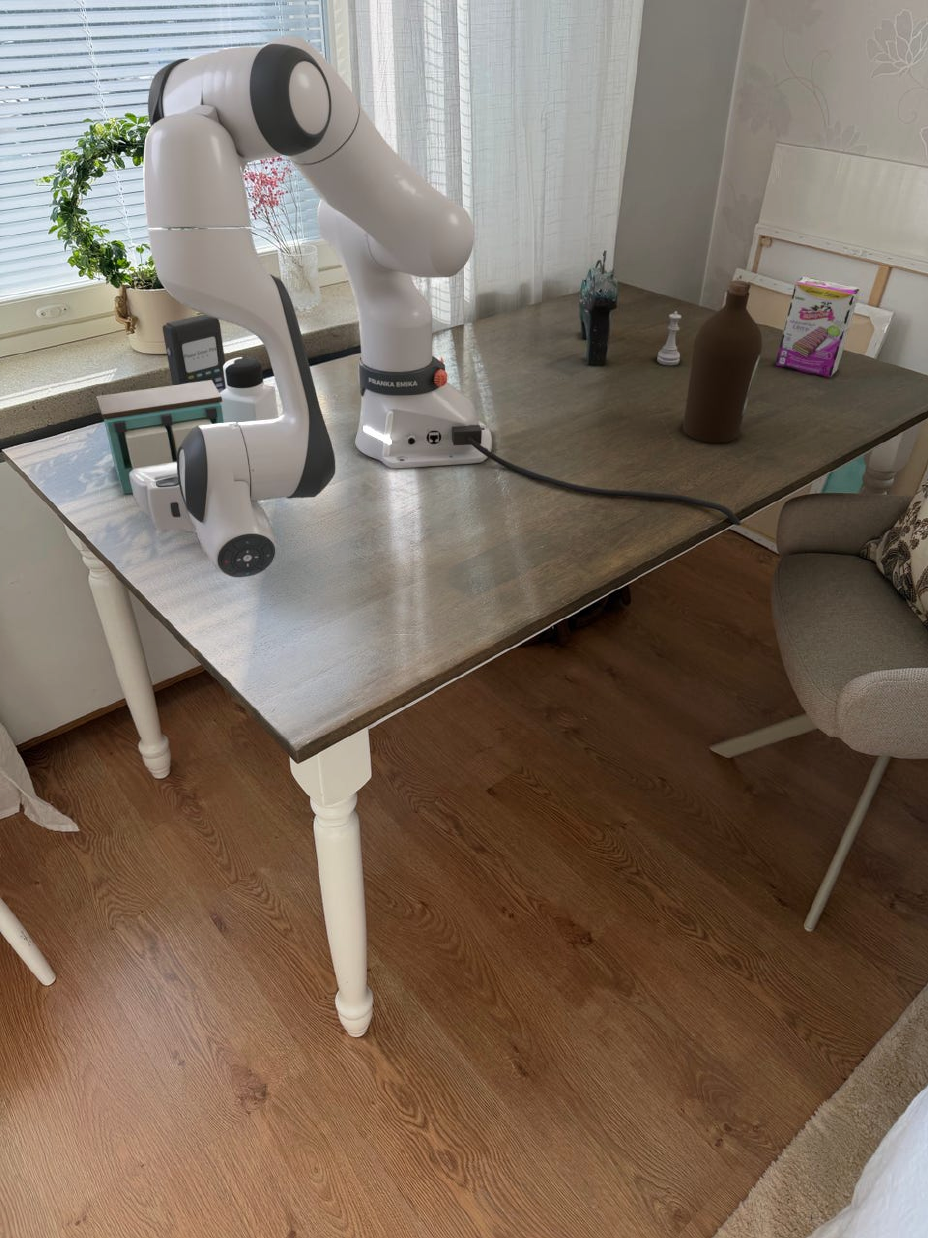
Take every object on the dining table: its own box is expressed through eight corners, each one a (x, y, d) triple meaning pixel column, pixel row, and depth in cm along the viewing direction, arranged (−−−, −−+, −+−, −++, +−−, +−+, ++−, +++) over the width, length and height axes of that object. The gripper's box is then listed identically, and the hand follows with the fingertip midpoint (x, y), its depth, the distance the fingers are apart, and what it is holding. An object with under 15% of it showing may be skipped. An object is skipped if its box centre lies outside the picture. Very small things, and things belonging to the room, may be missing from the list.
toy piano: (235, 477, 141) (224, 401, 133) (121, 497, 135) (103, 419, 128) (221, 450, 148) (210, 376, 140) (112, 468, 142) (94, 393, 135)
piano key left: (173, 465, 134) (167, 431, 131) (134, 472, 132) (126, 437, 129) (169, 455, 137) (162, 421, 134) (130, 461, 135) (122, 427, 132)
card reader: (185, 415, 158) (170, 329, 149) (174, 407, 160) (158, 322, 151) (232, 401, 163) (220, 317, 154) (221, 394, 165) (209, 311, 156)
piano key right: (217, 457, 136) (212, 424, 133) (179, 464, 134) (173, 430, 131) (212, 448, 139) (207, 414, 136) (174, 454, 137) (168, 420, 134)
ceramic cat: (611, 369, 179) (624, 263, 167) (578, 368, 179) (589, 262, 167) (600, 333, 195) (612, 234, 183) (570, 332, 195) (579, 233, 183)
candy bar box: (774, 366, 182) (794, 281, 172) (781, 358, 186) (801, 275, 176) (831, 379, 177) (854, 293, 168) (838, 371, 181) (861, 286, 171)
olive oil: (686, 445, 153) (714, 293, 138) (673, 418, 161) (698, 272, 146) (749, 445, 153) (784, 294, 138) (732, 418, 162) (763, 273, 147)
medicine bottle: (279, 425, 156) (272, 356, 148) (258, 443, 150) (250, 372, 143) (242, 418, 157) (233, 350, 150) (220, 435, 152) (210, 365, 145)
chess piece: (662, 355, 185) (670, 305, 179) (682, 360, 183) (691, 310, 177) (653, 362, 182) (660, 311, 176) (673, 367, 180) (681, 316, 174)
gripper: (293, 462, 123) (266, 421, 133) (135, 490, 116) (120, 444, 126) (297, 503, 127) (271, 461, 137) (144, 533, 120) (129, 485, 130)
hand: (197, 453), depth 131 cm, fingers closed
